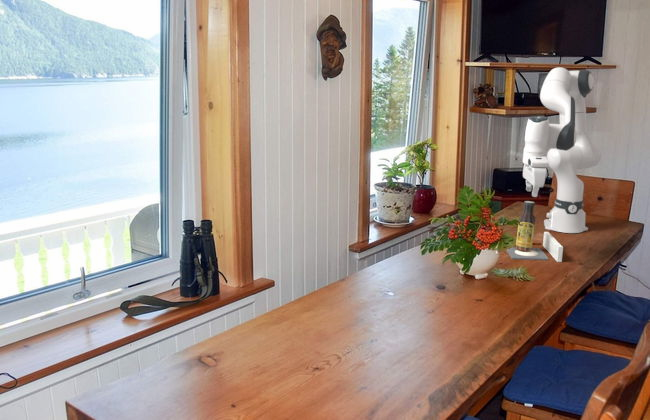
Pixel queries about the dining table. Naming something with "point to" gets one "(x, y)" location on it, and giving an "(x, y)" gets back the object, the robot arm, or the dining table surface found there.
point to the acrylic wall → (552, 246)
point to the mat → (527, 254)
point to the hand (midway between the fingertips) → (531, 193)
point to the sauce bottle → (526, 228)
